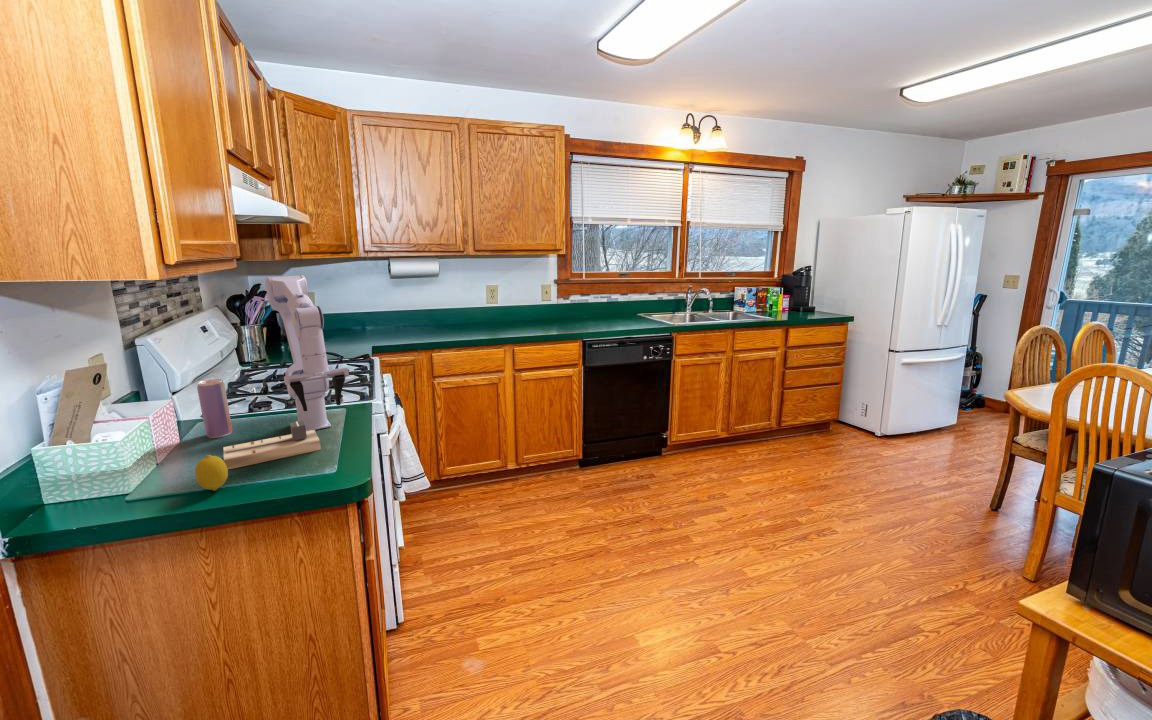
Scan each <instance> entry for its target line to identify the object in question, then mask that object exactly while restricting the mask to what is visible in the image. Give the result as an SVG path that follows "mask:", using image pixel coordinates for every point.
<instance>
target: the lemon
mask: <svg viewBox="0 0 1152 720" xmlns="http://www.w3.org/2000/svg"><path fill="white" fill-rule="evenodd" d="M194 473H195V475H194V476H195V480H196V482H197V484H198V485H199V486H200V487H201V488H203V489H205V490H206V489H207V490H211V491H213V492H214V491H217V490H218V489H219V488H220V487H222V486H223V485H224V484H225V483H226V481H227V479H228V477H229V469H227V466H226V464H225V462H224V459H223V458H221V457H220V456H217V455H211V454H207V455H206V456H205V457H203V458H202V459H200V460H199V461H198V462H197V464H196V466H195V472H194Z"/></svg>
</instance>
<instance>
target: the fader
mask: <svg viewBox="0 0 1152 720" xmlns="http://www.w3.org/2000/svg"><path fill="white" fill-rule="evenodd" d="M289 427H290V434H291V435H292V438H293V441H294V440H299V439H304V438H307V435H306V428H305V424H304V422H303V421H299V422H296V421H294V422H289Z"/></svg>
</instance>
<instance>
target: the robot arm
mask: <svg viewBox="0 0 1152 720" xmlns="http://www.w3.org/2000/svg"><path fill="white" fill-rule="evenodd" d="M264 280H265V289H266V294H267V299H268V302H269V305H270V307H271V309H272V310H273V311H277V312H278V313H279V315H280V317H281V319H282V321H283V322H282V323H283V326H284V330H285V334H286V338H287V342H288V345H289V350H290V353H291V358H292V362H293V363H292V364H291V365H290V366H289V367H288V368H287V369H286V370H285V373H284V375H285V376H283V380H284V385H285V386H286V389H287V393H288V395H289V397H290V398H292V399H294V401H295V408H296V414H297V416H296V417H297V421H295V422H299V421H303V422H304V424H305V428H306V431H310V430H315V431H316V430H320V429H321V430H322V429H325V428H326V429H327V428H330V427H332V425H331V423H330V421H329V420H328V418H327V416H328V415H327V410H326V403H325V402H326V401H325V396H326V393H327V392H328V390H329V389H330V381H329V379H330V378H331V379H332V383H333V384H332V385H333V389H334V399H335V404H336V406H341V405H342V404H341V398H342V397H341V396H342V391H343V387H344V384H345V381H346V376H349V368H348V367H340V368H333V369H332V368H331V369H329V363H328V357H327V351H326V345H325V344H326V343H325V338H324V332H323V329H324V326H325V325H324V324H325V320H324V319H325V318H324V314H323V311H322V308H321V306H320V305H314V303H313V301H312V299H311V298H310V297H309V296H308V293H309V288H308V282H307V278H306V276H304V275H303V274H299V275H288V276H267V277H266V278H265V279H264Z"/></svg>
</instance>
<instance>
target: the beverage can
mask: <svg viewBox="0 0 1152 720" xmlns="http://www.w3.org/2000/svg"><path fill="white" fill-rule="evenodd" d="M196 385H197V388H196V389H197V393H198V394H197V395H198V401H199V404H200V410H201V414H202V415H201V416H202V421H203V426H204V430H205V435H206V437H207V438H209V439H219V438H224V437H227V436H229V435H231V434H232V432H233V425H232V420H231V415H230V407H229V402H228V397H227V390H226V386H225V382H224V380H223V379H222V378H211V379H206V380H201V381H199V382H197V384H196Z"/></svg>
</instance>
